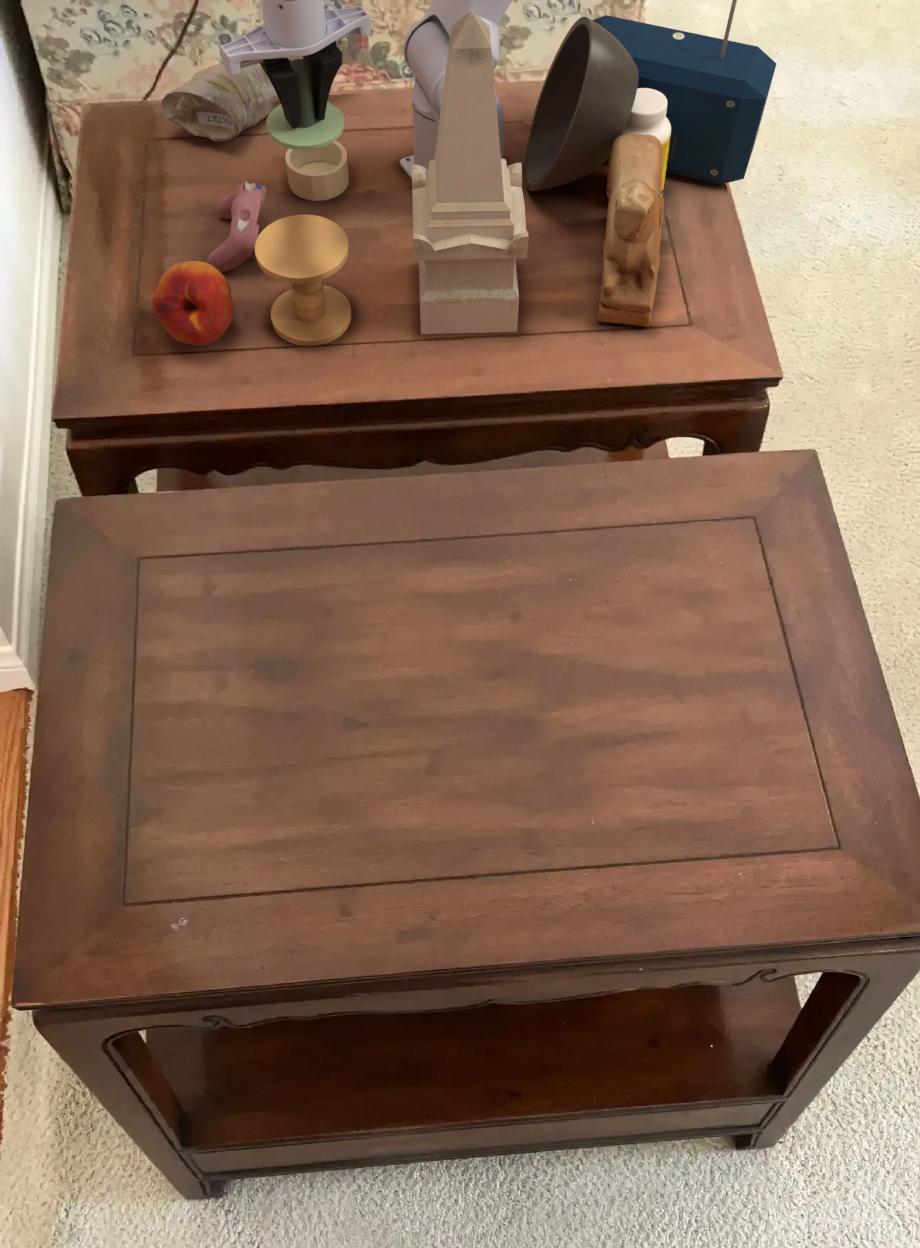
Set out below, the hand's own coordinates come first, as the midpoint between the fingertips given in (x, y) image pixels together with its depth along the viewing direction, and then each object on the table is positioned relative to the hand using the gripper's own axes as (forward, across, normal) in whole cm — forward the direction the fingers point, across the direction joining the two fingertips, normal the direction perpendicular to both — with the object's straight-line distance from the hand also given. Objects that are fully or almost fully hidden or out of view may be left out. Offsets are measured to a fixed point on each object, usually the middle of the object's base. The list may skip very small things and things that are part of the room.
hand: (305, 118), depth 115 cm
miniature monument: (+10, -7, +21) cm, 24 cm away
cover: (+1, 0, 0) cm, 1 cm away
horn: (+8, -3, -13) cm, 16 cm away
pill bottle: (+10, -31, +15) cm, 36 cm away
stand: (+10, +8, +15) cm, 20 cm away
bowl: (+1, -29, +13) cm, 32 cm away
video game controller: (+11, +10, +2) cm, 14 cm away
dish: (+10, -2, -3) cm, 11 cm away
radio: (+10, -38, +10) cm, 40 cm away
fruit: (+11, +18, +12) cm, 24 cm away
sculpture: (+10, -24, +25) cm, 36 cm away
